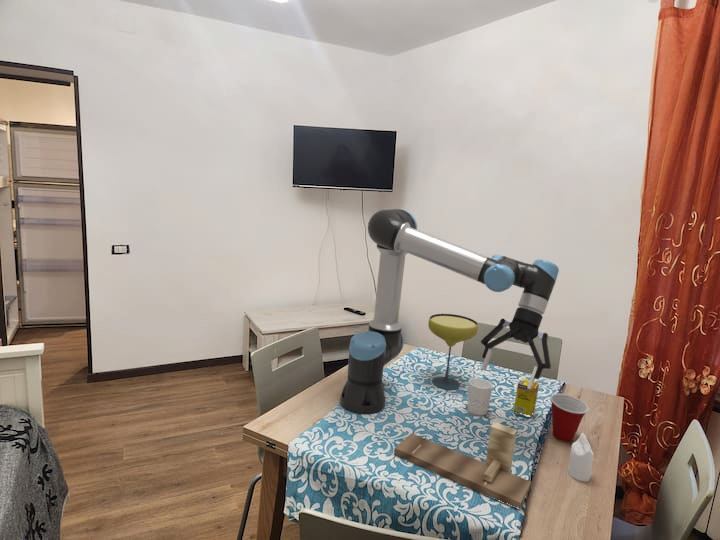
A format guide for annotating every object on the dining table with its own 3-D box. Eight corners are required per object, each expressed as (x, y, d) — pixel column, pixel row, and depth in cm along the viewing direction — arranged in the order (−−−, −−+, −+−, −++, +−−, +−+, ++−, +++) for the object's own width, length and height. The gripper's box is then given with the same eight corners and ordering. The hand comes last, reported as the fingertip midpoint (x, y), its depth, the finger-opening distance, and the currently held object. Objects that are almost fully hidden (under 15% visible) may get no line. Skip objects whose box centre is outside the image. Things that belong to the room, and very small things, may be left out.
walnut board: (393, 454, 125) (394, 447, 125) (410, 439, 133) (411, 432, 133) (519, 510, 107) (520, 502, 106) (530, 488, 115) (531, 481, 114)
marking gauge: (474, 482, 115) (480, 439, 113) (488, 462, 124) (494, 422, 122) (498, 492, 112) (504, 448, 109) (510, 471, 121) (517, 430, 118)
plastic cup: (566, 450, 134) (573, 412, 132) (537, 431, 143) (542, 396, 141) (590, 443, 139) (597, 406, 137) (560, 425, 148) (566, 391, 146)
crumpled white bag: (601, 441, 117) (579, 439, 117) (593, 483, 119) (571, 480, 120) (592, 429, 123) (570, 426, 123) (584, 469, 125) (563, 466, 126)
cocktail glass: (461, 399, 162) (470, 331, 157) (414, 384, 170) (421, 320, 165) (475, 381, 177) (483, 320, 173) (431, 369, 186) (438, 310, 181)
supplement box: (531, 419, 151) (536, 388, 149) (512, 413, 154) (517, 383, 152) (534, 412, 156) (539, 382, 154) (517, 406, 159) (521, 377, 157)
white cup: (489, 418, 149) (493, 390, 147) (465, 414, 151) (469, 386, 149) (488, 407, 157) (492, 380, 155) (464, 403, 158) (468, 376, 156)
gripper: (575, 327, 131) (551, 397, 128) (492, 301, 144) (468, 364, 141) (574, 322, 124) (548, 396, 122) (487, 295, 137) (462, 361, 135)
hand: (505, 379), depth 132 cm, fingers open, 13 cm apart
